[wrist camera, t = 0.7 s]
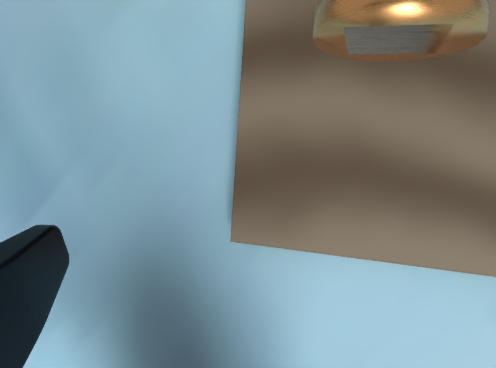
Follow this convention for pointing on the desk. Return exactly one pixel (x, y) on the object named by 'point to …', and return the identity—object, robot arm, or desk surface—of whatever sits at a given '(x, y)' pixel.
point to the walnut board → (365, 148)
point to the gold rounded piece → (398, 28)
